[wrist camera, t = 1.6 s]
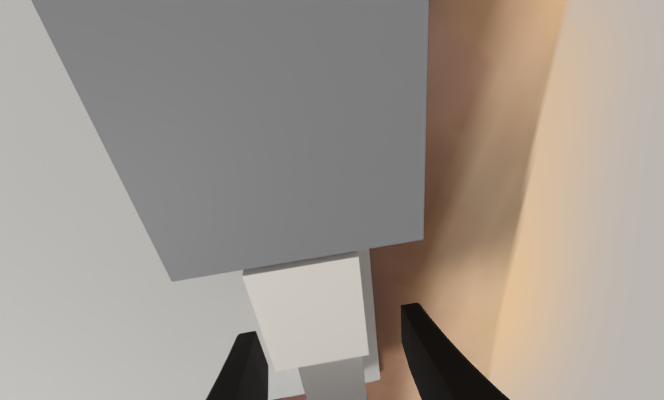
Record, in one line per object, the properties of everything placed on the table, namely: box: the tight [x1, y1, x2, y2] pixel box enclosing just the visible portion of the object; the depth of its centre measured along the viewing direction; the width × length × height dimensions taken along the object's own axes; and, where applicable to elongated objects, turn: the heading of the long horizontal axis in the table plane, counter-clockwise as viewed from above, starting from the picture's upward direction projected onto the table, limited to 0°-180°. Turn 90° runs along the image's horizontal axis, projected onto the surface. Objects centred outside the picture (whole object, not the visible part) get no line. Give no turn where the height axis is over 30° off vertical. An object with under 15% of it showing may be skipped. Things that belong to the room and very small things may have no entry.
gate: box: [31, 0, 429, 400], centre depth 9 cm, size 17×3×6 cm, turn 7°
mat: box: [0, 0, 380, 400], centre depth 12 cm, size 20×18×1 cm
